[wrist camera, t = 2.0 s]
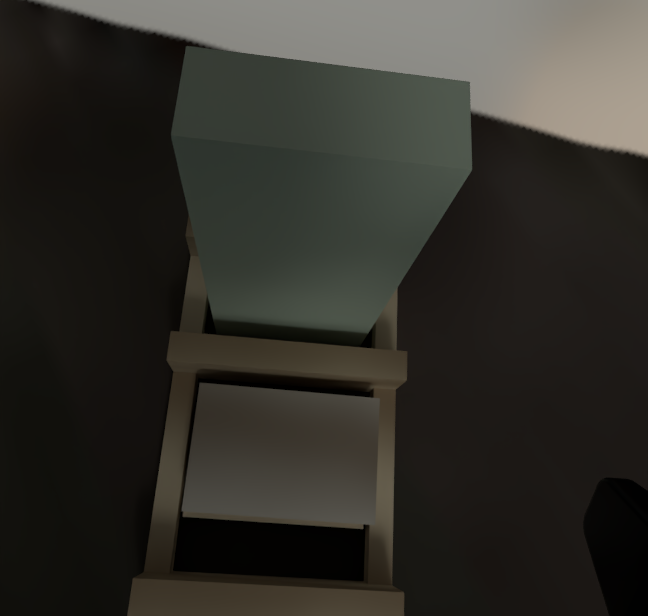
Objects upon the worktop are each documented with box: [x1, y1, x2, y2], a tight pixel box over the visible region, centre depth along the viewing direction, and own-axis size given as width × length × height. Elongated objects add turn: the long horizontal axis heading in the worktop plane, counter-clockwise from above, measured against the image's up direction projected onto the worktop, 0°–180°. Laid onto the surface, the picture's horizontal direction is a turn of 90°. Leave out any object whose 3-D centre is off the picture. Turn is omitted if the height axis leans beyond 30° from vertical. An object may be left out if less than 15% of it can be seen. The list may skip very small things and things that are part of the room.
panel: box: [171, 46, 472, 346], centre depth 17 cm, size 2×6×12 cm, turn 87°
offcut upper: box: [182, 383, 380, 525], centre depth 19 cm, size 4×6×2 cm, turn 86°
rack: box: [127, 216, 407, 616], centre depth 20 cm, size 13×8×2 cm, turn 177°
